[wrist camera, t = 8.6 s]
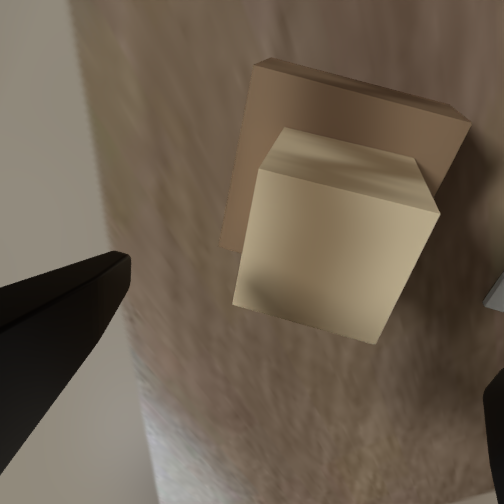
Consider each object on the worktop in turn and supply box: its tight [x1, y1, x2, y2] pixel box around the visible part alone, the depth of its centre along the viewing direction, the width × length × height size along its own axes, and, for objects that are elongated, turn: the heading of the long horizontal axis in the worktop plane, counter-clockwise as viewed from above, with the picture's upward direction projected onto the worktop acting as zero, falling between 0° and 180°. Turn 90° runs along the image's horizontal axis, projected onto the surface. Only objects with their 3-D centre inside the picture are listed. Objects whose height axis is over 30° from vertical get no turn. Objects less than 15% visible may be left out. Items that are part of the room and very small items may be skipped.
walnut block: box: [218, 58, 472, 253], centre depth 18 cm, size 8×8×4 cm
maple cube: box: [232, 127, 440, 345], centre depth 14 cm, size 5×5×5 cm
